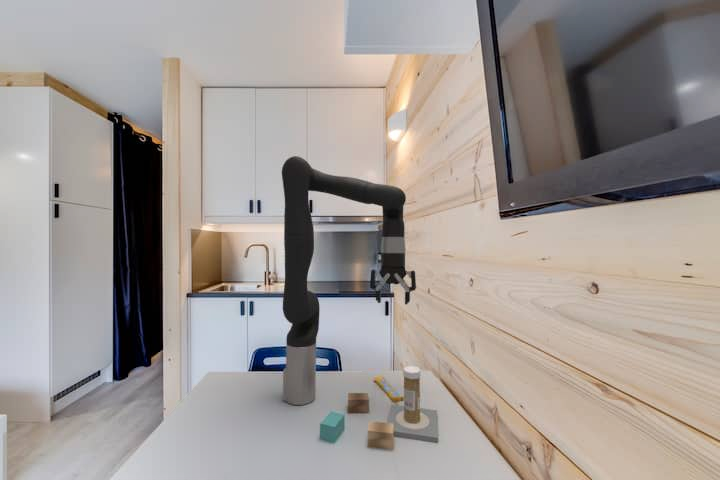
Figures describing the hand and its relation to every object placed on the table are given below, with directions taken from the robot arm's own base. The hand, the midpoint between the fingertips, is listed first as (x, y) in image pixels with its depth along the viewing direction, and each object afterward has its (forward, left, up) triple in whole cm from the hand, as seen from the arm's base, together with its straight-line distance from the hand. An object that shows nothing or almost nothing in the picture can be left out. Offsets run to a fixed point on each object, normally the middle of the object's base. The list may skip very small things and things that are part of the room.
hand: (392, 303), depth 96 cm
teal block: (-12, -21, -30) cm, 39 cm away
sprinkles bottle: (+7, -12, -29) cm, 32 cm away
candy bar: (-2, +6, -31) cm, 32 cm away
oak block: (0, -22, -30) cm, 37 cm away
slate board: (+7, -12, -30) cm, 33 cm away
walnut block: (-9, -8, -30) cm, 33 cm away
